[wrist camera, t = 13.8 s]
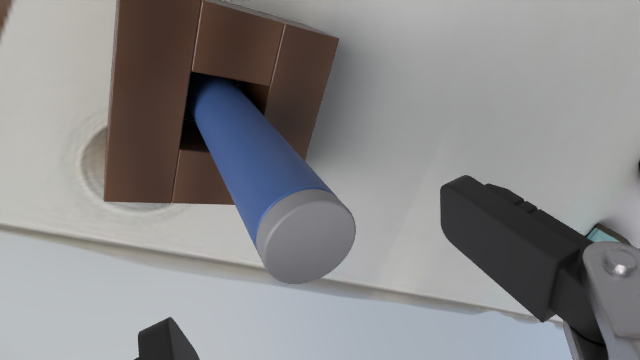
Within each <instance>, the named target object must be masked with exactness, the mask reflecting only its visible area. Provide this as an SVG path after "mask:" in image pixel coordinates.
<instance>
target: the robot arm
mask: <svg viewBox="0 0 640 360" xmlns="http://www.w3.org/2000/svg"><path fill="white" fill-rule="evenodd" d="M440 207H441V227H442V230H443V232H444V234H445V236H446V238H447V239H448V240H449V241H450V242H451V243H452V244H453V245H454V246H455V247H456V248H457V249H459V250H460V251H461V252H462V253H463V254H464V255H465V256H467V257H468V258H469V259H470V260H471V261H472V262H473V263H475V264H476V265H477V266H478V267H479V268H480V269H481V270H483V271H484V272H485V273H486V274H487V275H488V276H489V277H491V278H492V279H493V280H494V281H495V282H496V283H497V284H499V285H500V286H501V287H502V288H503V289H504V290H505V291H507V292H508V293H509V294H510V295H511V296H512V297H513V298H515V299H516V300H517V301H518V302H519V303H520V304H521V305H523V306H524V307H525V308H526V309H527V310H528V311H530V312H531V313H532V314H533V315H534V316H535V317H536V318H538V319H539V320H540V321H541V322H545V321H546V320H548V319H549V318H551V317H553V316H554V315H556V314H557V315H558V316H559V317H560V318H562V319H563V320H564V321H563V328H564V332H565V335H566V339H567V342H568V345H569V348H570V352H571V355H572V359H573V360H640V249H638V248H636V247H634V246H631V245H628V244H625V243H621V242H616V241H600V242H593V241H592V240H590V239H588V238H586V237H585V236H583V235H582V234H580V233H578V232H577V231H575V230H573V229H572V228H570V227H568V226H567V225H565V224H564V223H562V222H560V221H559V220H557V219H555V218H554V217H552V216H551V215H549V214H547V213H546V212H544V211H542V210H541V209H539V210H538V209H537V207H536V206H534V205H533V204H531V203H529V202H528V201H526V202H525V201H524V199H523V198H521V197H520V196H518V195H516V194H515V193H513V192H511V191H510V190H508V189H505V188H502V187H499V186H495V185H492V184H486V185H483V184H482V183H480V182H478V181H477V180H475V179H474V178H472V177H470V176H468V175H464V176H461V177H459V178H457V179H455V180H453V181H451V182H449V183H447V184H445V185H443V186H442V187H441V190H440ZM138 347H139V357H138V358H136V359H135V360H200V359H199V357H198V355H197V353H196V351H195V349H194V348H193V346H192V345H191V344H190V342H189V341H188V339H187V338H186V336H185V335H184V334H183V332H182V331H181V330H180V328H179V327H178V325H177V324H176V322H175V321H174V320H173V319H172V318H171V317H169V318H167V319H165V320H163V321H161V322H159V323H157V324H155V325H152V326H150V327H148V328H146V329H144V330H143V331H140V332H139V334H138Z"/></svg>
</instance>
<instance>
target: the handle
mask: <svg viewBox="0 0 640 360" xmlns="http://www.w3.org/2000/svg"><path fill="white" fill-rule="evenodd" d="M186 103H187V105H188V107H189V109H190V111H191V114H192V116H193V118H194V120H195V122H196V124H197V126H198V128H199V130H200V132H201V134H202V137H203V139H204V141H205V143H206V145H207V147H208V149H209V151H210V153H211V155H212V157H213V160H214V162H215V164H216V166H217V168H218V170H219V172H220V174H221V176H222V178H223V180H224V183H225V185H226V187H227V189H228V191H229V193H230V195H231V197H232V199H233V201H234V203H235V206H236V208H237V210H238V212H239V214H240V216H241V218H242V220H243V222H244V224H245V226H246V229H247V231H248V233H249V235H250V237H251V239H252V241H253V243H254V245H255V247H256V249H257V251H258V254H259V256H260V258H261V260H262V262H263V264H264V266H265V268H266V270H267V271H268V273H269V274H270V275H271V276H273V277H274V278H275V279H277V280H279V281H281V282H284V283H288V284H302V283H307V282H311V281H314V280H317V279H319V278H321V277H323V276H325V275H326V274H328V273H329V272H331V271H332V270H334V269H335V268H336V267H337V266H338V265H339V264H340V263H341V262H342V261H343V260H344V259H345V257H346V256H347V254H348V253H349V251H350V249H351V247H352V245H353V242H354V239H355V234H356V227H355V221H354V218H353V216H352V214H351V212H350V211H349V209H348V208H347V207H346V206H345V205H344V204H343V203H342V202H341V201H340V200H339V199H338V198H337V196H336V195H335V194H334V193H333V192H332V191H331V190H330V189H329V187H328V186H327V185H326V184H325V183H324V182H323V181H322V180H321V179H320V178H319V176H318V175H317V174H316V173H315V172H314V171H313V170H312V169H311V168H310V166H309V165H308V164H307V163H306V162H305V161H304V160H303V159H302V158H301V157H300V155H299V154H298V153H297V152H296V151H295V150H294V149H293V148H292V147H291V146H290V144H289V143H288V142H287V141H286V140H285V139H284V138H283V137H282V136H281V134H280V133H279V132H278V131H277V130H276V129H275V128H274V127H273V126H272V125H271V123H270V122H269V121H268V120H267V119H266V118H265V117H264V116H263V115H262V114H261V112H260V111H259V110H258V109H257V108H256V107H255V106H254V105H253V104H252V102H251V101H250V100H249V99H248V98H247V97H246V96H245V95H244V94H243V93H242V91H241V90H240V89H239V88H238V87H237V86H236V85H235V84H234V83H233V82H232V80H231V79H228V78H223V77H218V76H213V75H207V74H202V73H197V72H192V73H190V80H189V87H188V93H187V100H186Z"/></svg>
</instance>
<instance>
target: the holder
mask: <svg viewBox="0 0 640 360" xmlns="http://www.w3.org/2000/svg"><path fill="white" fill-rule="evenodd" d="M338 41H339V39H338V38H336V37H334V36H331V35H329V34H326V33H324V32H321V31H319V30H316V29H313V28H311V27H308V26H306V25H303V24H300V23H296V22H293V21H289V20H286V19H283V18H279V17H276V16H272V15H269V14H265V13H262V12H258V11H255V10H251V9H248V8H244V7H241V6H237V5H234V4H231V3H227V2H224V1H220V0H117V2H116V16H115V29H114V43H113V57H112V71H111V85H110V99H109V112H108V126H107V140H106V154H105V175H104V201H105V202H143V203H171V202H172V203H189V204H227V205H235V203H234V201H233V199H232V197H231V195H230V193H229V191H228V189H227V187H226V185H225V183H224V180H223V178H222V176H221V174H220V172H219V170H218V168H217V166H216V164H215V162H214V160H213V157H212V155H211V153H210V151H209V149H208V147H207V145H206V143H205V141H204V139H203V137H202V134H201V132H200V130H199V128H198V126H197V124H196V122H195V120H187V119H184V113H185V107H186V100H187V93H188V87H189V80H190V73H191V71H192V72H197V73H202V74H207V75H213V76H218V77H223V78H228V79H234V80H239V81H242V83H241V88H240V90H241V91H242V93H243V94H244V95H245V96H246V97H247V98H248V99H249V100H250V101H251V102H252V104H253V105H254V106H255V107H256V108H257V109H258V110H259V111H260V112H261V114H262V115H263V116H264V117H265V118H266V119H267V120H268V121H269V122H270V123H271V125H272V126H273V127H274V128H275V129H276V130H277V131H278V132H279V133H280V134H281V136H282V137H283V138H284V139H285V140H286V141H287V142H288V143H289V144H290V146H291V147H292V148H293V149H294V150H295V151H296V152H297V153H298V154H299V155H300V157H301V158H302V159H303V160H305V156H306V153H307V149H308V146H309V142H310V139H311V135H312V132H313V128H314V125H315V121H316V118H317V114H318V111H319V107H320V104H321V100H322V97H323V93H324V90H325V87H326V83H327V80H328V76H329V73H330V69H331V66H332V62H333V59H334V55H335V52H336V48H337V45H338Z"/></svg>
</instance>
